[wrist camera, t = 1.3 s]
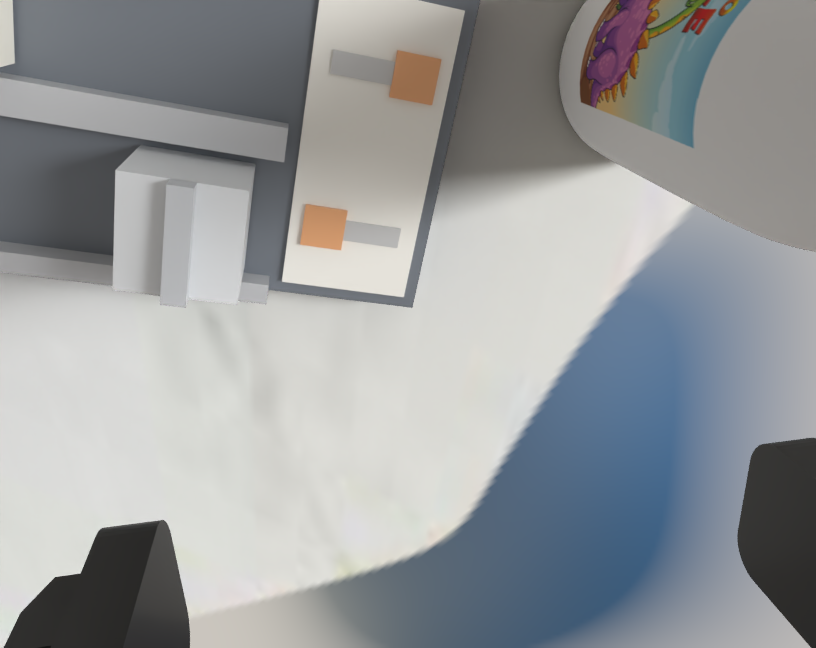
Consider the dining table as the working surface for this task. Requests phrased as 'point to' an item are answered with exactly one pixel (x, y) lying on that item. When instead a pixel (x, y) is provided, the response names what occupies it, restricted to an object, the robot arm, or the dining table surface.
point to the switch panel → (237, 130)
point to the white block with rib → (181, 225)
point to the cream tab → (6, 33)
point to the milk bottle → (704, 103)
